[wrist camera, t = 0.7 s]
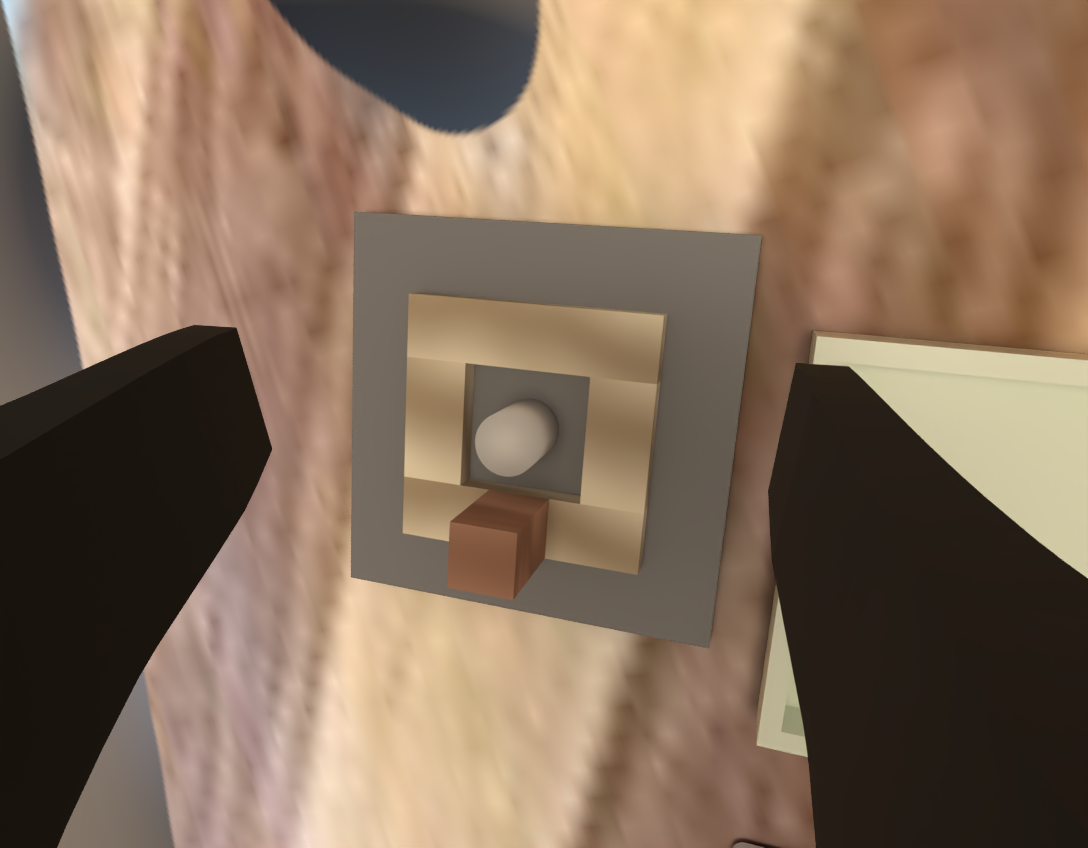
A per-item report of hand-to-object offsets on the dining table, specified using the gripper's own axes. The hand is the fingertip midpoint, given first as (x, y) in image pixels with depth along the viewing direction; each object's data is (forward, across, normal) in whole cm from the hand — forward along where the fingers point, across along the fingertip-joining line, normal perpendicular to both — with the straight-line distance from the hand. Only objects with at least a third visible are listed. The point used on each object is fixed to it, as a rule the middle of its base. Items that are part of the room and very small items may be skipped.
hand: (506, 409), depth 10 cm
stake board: (+17, +2, +13) cm, 21 cm away
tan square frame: (+16, +3, +12) cm, 20 cm away
